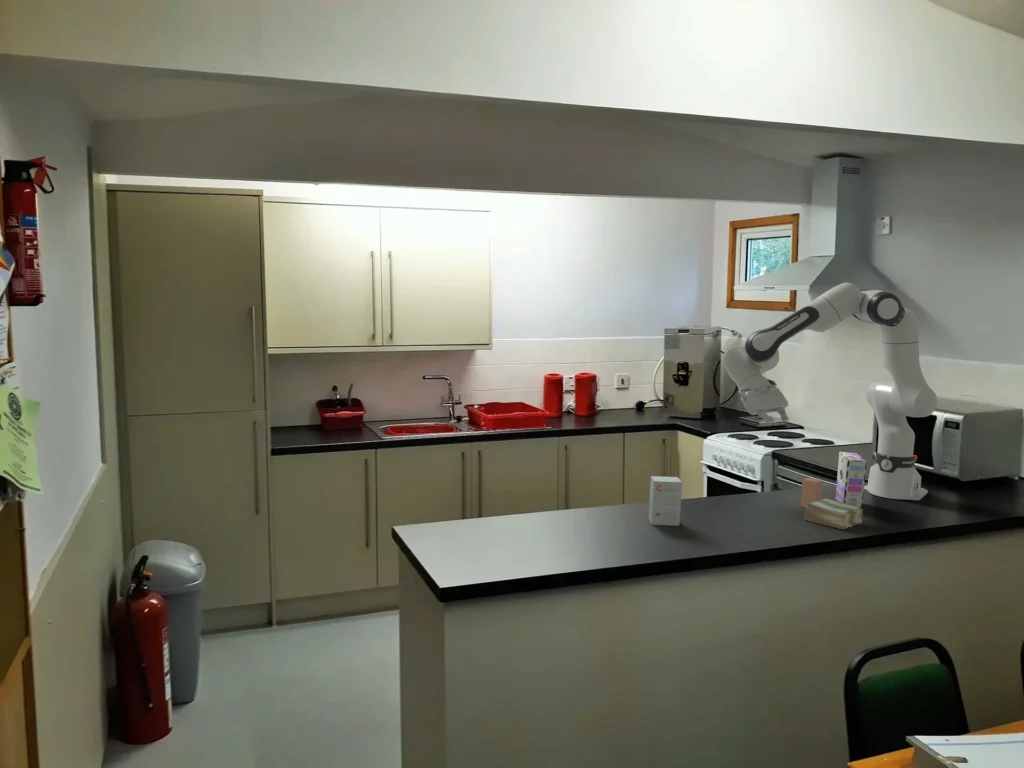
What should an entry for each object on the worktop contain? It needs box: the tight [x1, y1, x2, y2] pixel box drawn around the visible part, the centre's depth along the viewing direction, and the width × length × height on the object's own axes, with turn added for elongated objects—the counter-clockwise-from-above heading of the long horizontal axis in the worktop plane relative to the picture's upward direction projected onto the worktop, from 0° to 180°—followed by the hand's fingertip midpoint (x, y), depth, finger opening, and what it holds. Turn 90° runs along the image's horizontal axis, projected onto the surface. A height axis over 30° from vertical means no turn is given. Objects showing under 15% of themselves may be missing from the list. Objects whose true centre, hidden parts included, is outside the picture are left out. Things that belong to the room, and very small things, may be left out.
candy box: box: [835, 451, 867, 509], centre depth 260 cm, size 14×6×16 cm, turn 168°
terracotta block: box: [800, 477, 824, 507], centre depth 256 cm, size 4×4×9 cm
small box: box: [648, 475, 683, 527], centre depth 234 cm, size 8×6×13 cm
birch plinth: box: [803, 498, 864, 531], centre depth 242 cm, size 12×12×5 cm
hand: (778, 421), depth 263 cm, fingers open, 8 cm apart
